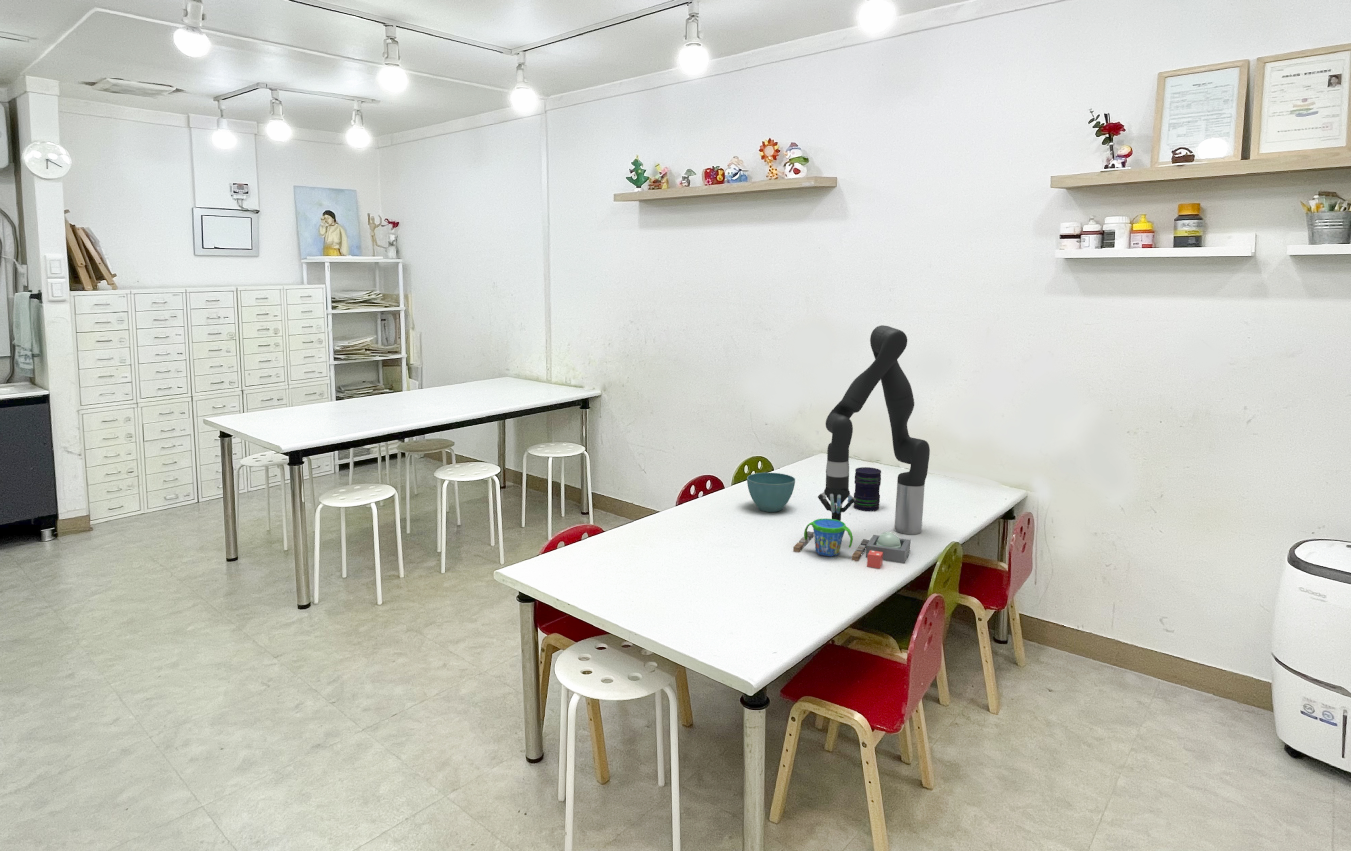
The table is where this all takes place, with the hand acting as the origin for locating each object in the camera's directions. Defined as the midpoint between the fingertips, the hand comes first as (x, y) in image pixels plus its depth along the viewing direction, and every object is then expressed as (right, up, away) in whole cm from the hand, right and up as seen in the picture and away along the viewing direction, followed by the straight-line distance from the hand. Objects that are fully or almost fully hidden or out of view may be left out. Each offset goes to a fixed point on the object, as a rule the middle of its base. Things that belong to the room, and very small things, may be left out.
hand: (836, 522), depth 274 cm
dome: (+14, -9, -11) cm, 20 cm away
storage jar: (+20, +1, +40) cm, 45 cm away
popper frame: (+14, -9, -12) cm, 20 cm away
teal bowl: (-18, +1, +37) cm, 41 cm away
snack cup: (-5, -9, -11) cm, 15 cm away
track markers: (-3, -7, -6) cm, 10 cm away
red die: (+8, -11, -21) cm, 25 cm away
